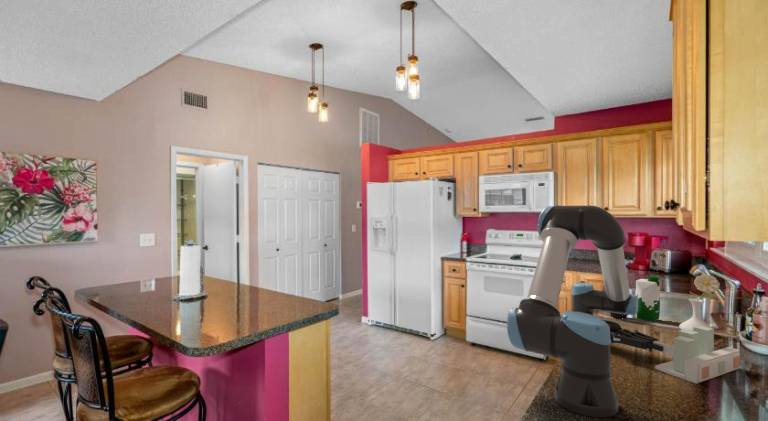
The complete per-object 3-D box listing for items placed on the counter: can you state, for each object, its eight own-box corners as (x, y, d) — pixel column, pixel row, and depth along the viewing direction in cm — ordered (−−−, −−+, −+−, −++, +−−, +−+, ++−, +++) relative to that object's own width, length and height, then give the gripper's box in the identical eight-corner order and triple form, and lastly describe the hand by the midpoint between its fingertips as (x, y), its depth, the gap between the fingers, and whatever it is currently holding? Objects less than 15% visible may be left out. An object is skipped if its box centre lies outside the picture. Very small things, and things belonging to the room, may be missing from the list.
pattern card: (702, 382, 113) (702, 365, 113) (699, 381, 114) (699, 364, 114) (740, 368, 122) (740, 353, 122) (737, 367, 123) (737, 352, 123)
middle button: (691, 365, 123) (691, 334, 123) (678, 360, 127) (678, 330, 127) (698, 362, 125) (698, 332, 125) (684, 358, 128) (685, 329, 128)
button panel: (696, 383, 113) (696, 363, 113) (655, 368, 123) (655, 350, 123) (739, 368, 123) (739, 350, 123) (698, 355, 134) (698, 338, 134)
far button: (707, 360, 127) (707, 330, 127) (693, 356, 130) (693, 327, 130) (713, 358, 129) (713, 328, 128) (699, 354, 132) (699, 325, 132)
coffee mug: (632, 320, 175) (632, 299, 175) (612, 319, 177) (612, 298, 177) (622, 314, 186) (622, 293, 186) (603, 313, 188) (603, 292, 188)
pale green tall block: (687, 374, 116) (687, 341, 116) (673, 369, 120) (673, 337, 120) (695, 371, 118) (695, 339, 118) (680, 367, 122) (680, 336, 122)
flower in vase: (675, 332, 159) (675, 272, 158) (683, 327, 166) (683, 269, 166) (716, 341, 148) (716, 277, 148) (722, 334, 156) (722, 273, 156)
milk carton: (656, 322, 172) (656, 278, 172) (633, 318, 179) (633, 276, 179) (662, 319, 178) (662, 276, 178) (639, 314, 185) (639, 273, 185)
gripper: (616, 337, 145) (687, 359, 124) (594, 342, 140) (664, 367, 118) (616, 317, 145) (687, 337, 124) (594, 322, 140) (664, 343, 118)
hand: (676, 351), depth 121 cm, fingers closed
